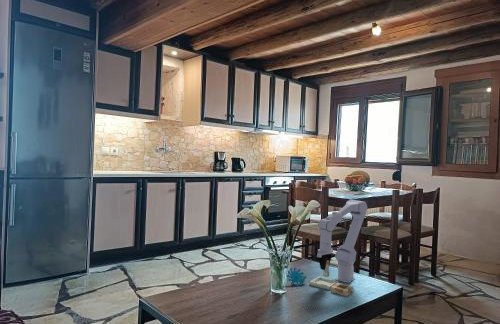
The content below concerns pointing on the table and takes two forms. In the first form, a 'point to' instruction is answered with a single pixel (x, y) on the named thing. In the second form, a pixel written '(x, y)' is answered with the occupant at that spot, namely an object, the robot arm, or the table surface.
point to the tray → (323, 282)
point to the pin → (326, 270)
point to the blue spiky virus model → (296, 276)
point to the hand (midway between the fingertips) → (324, 268)
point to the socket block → (342, 289)
